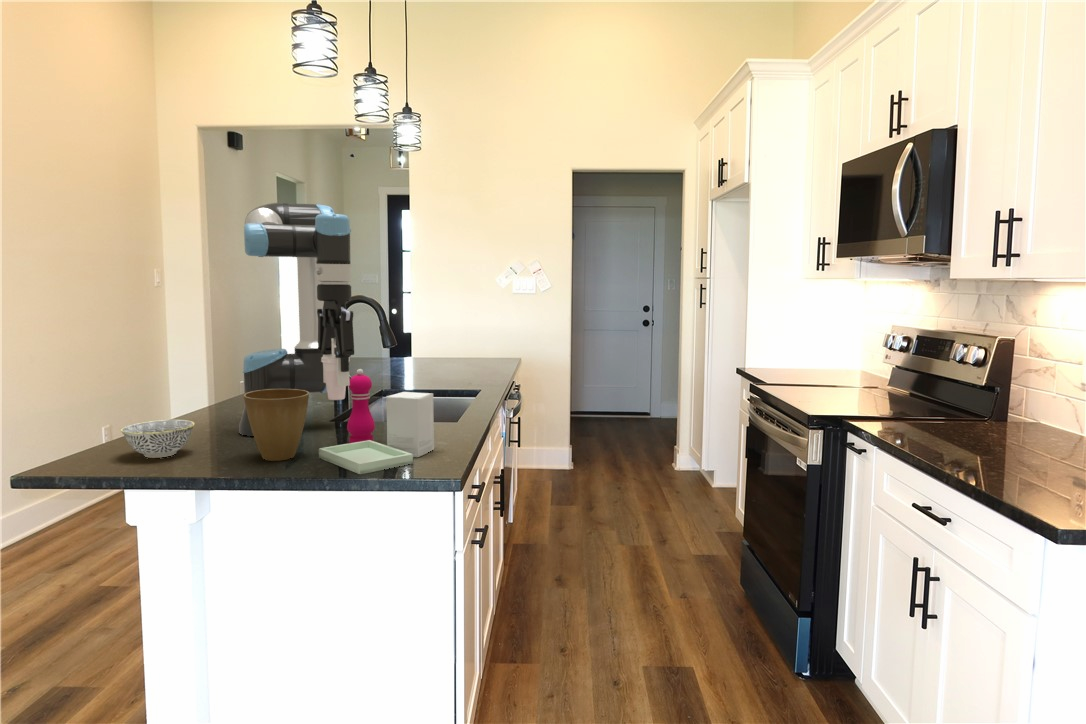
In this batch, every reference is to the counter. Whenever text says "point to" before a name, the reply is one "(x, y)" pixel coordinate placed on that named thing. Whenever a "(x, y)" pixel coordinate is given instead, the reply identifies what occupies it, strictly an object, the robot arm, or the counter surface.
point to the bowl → (158, 436)
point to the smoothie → (332, 377)
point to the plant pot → (277, 420)
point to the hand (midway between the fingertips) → (336, 383)
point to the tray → (365, 456)
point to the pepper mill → (360, 409)
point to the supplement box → (410, 422)
